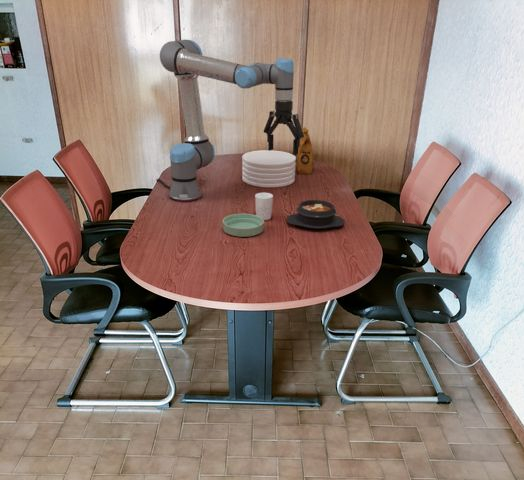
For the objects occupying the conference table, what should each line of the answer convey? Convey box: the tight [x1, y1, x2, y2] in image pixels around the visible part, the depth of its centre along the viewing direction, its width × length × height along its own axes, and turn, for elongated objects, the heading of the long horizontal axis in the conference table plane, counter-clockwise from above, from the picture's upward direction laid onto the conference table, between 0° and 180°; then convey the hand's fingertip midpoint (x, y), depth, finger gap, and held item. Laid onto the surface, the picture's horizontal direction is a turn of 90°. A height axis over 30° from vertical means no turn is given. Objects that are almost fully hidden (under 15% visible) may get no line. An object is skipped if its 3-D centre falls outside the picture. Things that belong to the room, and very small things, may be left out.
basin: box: [221, 213, 265, 238], centre depth 218 cm, size 17×17×4 cm
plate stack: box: [241, 149, 296, 188], centre depth 274 cm, size 28×28×12 cm
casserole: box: [286, 199, 345, 230], centre depth 223 cm, size 25×19×8 cm
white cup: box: [254, 192, 274, 221], centre depth 228 cm, size 8×8×10 cm
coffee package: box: [294, 126, 314, 175], centre depth 285 cm, size 10×12×22 cm
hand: (282, 152), depth 233 cm, fingers open, 13 cm apart
